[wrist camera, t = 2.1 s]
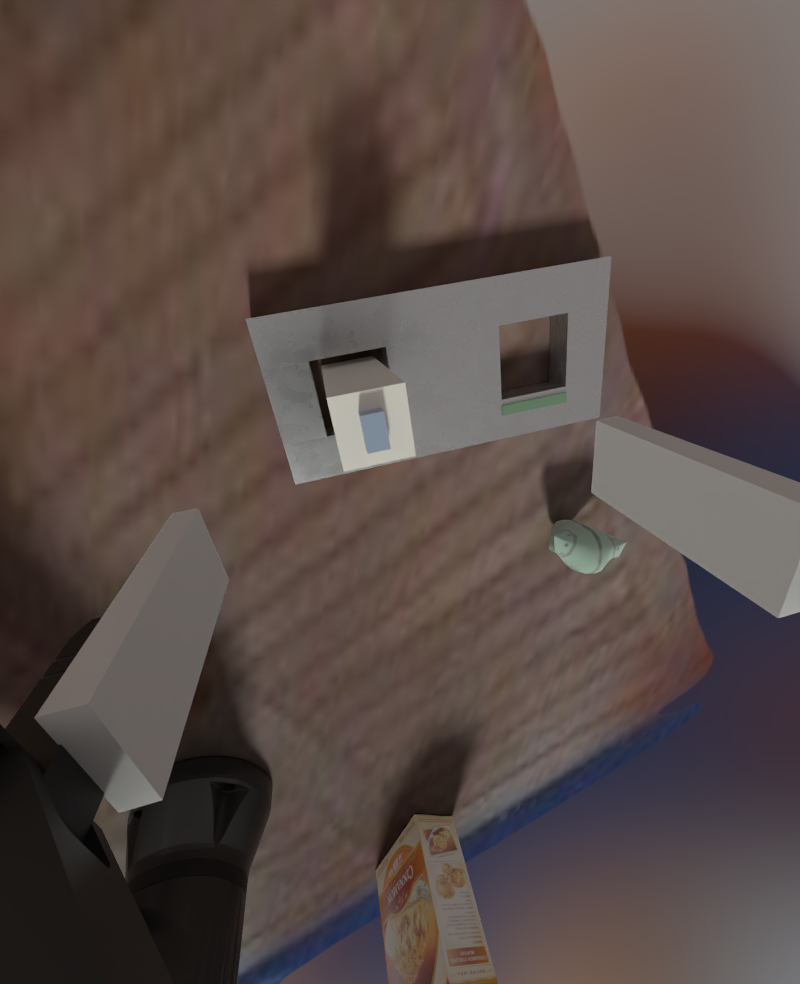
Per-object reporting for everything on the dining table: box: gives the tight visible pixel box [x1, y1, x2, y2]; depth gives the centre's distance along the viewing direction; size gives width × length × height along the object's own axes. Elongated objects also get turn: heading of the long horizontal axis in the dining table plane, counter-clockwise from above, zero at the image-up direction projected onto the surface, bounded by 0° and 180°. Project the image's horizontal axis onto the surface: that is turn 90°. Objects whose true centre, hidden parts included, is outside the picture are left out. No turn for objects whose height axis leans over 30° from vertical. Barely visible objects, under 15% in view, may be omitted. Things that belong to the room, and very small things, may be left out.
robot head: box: [549, 520, 626, 574], centre depth 38 cm, size 8×4×7 cm, turn 78°
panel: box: [246, 256, 611, 485], centre depth 31 cm, size 26×12×3 cm, turn 98°
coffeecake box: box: [376, 814, 498, 984], centre depth 53 cm, size 15×7×20 cm, turn 154°
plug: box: [321, 356, 416, 472], centre depth 26 cm, size 4×4×13 cm
